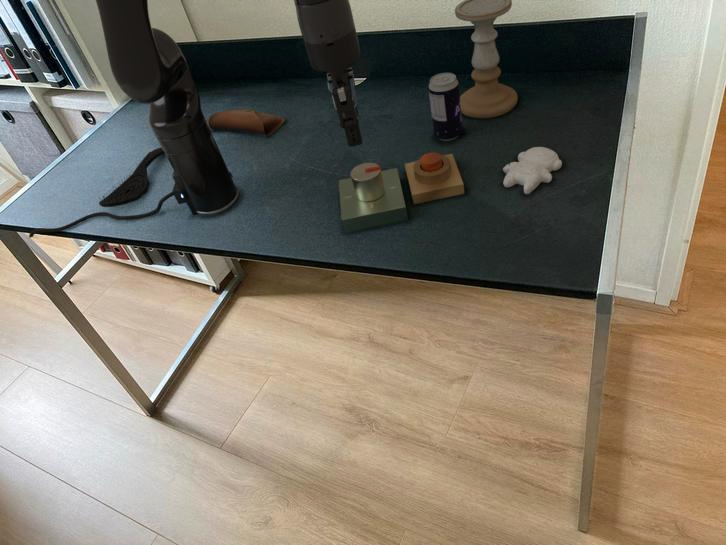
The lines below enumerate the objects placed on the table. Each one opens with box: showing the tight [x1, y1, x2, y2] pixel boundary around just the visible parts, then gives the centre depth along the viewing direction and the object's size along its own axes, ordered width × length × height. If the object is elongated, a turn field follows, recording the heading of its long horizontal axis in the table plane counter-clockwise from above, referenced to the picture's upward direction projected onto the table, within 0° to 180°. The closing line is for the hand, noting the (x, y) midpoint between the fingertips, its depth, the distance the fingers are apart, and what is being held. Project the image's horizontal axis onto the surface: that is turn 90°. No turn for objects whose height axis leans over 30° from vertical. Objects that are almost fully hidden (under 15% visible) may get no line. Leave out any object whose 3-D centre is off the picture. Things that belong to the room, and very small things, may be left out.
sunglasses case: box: [207, 108, 286, 137], centre depth 127 cm, size 18×7×7 cm
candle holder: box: [454, 0, 519, 119], centre depth 106 cm, size 12×12×20 cm
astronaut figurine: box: [502, 146, 563, 195], centre depth 92 cm, size 9×12×3 cm
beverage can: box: [427, 72, 464, 142], centre depth 103 cm, size 6×6×12 cm
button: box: [420, 151, 442, 172], centre depth 94 cm, size 4×4×2 cm
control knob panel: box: [338, 167, 409, 234], centre depth 95 cm, size 11×12×3 cm
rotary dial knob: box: [349, 162, 385, 202], centre depth 92 cm, size 5×5×5 cm
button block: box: [404, 153, 465, 205], centre depth 96 cm, size 9×10×4 cm
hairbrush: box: [98, 146, 165, 208], centre depth 119 cm, size 8×4×25 cm
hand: (354, 131), depth 86 cm, fingers open, 8 cm apart
